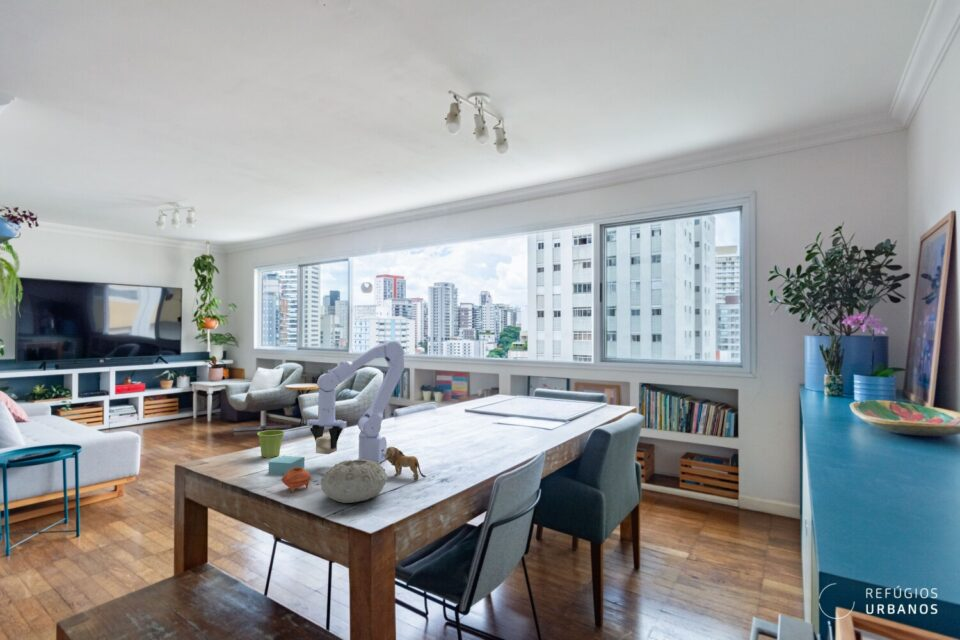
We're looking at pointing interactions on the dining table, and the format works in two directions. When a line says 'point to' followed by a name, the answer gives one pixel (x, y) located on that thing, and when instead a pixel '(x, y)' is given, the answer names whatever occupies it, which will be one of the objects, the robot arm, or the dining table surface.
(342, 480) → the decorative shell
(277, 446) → the plant pot
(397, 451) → the lion figurine
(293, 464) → the teal base block
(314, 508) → the dining table surface
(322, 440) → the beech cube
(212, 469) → the dining table surface
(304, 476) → the pot
